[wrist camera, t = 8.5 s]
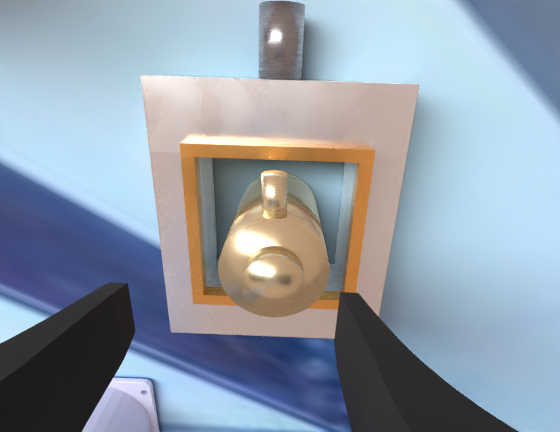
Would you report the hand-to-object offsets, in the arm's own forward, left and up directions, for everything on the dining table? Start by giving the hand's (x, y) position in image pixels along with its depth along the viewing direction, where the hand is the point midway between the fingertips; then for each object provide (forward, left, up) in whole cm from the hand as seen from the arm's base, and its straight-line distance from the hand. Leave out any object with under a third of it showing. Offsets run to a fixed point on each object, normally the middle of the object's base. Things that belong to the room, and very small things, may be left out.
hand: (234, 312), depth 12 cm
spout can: (0, -1, -9) cm, 9 cm away
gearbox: (+2, -1, -9) cm, 10 cm away
